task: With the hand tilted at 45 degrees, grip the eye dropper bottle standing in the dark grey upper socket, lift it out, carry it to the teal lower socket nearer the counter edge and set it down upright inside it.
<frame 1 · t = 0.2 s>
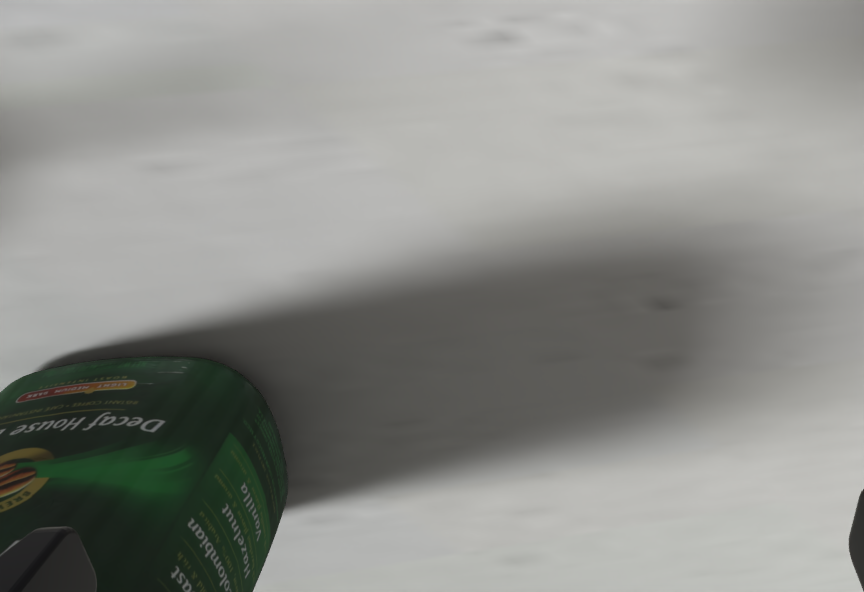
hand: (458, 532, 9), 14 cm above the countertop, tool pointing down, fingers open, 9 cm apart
coffee jar: (150, 437, 26), on the countertop
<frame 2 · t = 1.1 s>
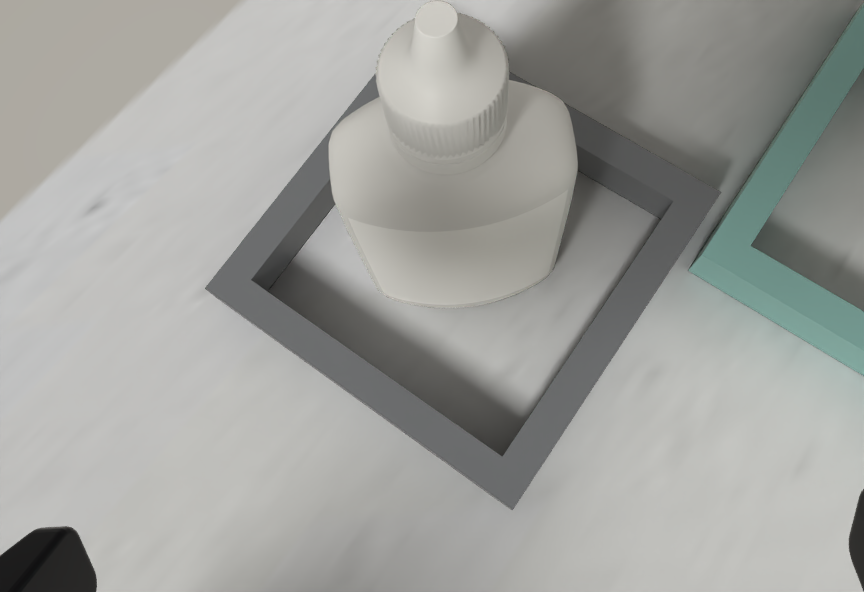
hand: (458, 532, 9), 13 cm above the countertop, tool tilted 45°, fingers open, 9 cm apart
eye dropper bottle: (462, 259, 24), resting in upper socket
upper socket: (462, 257, 24), on the countertop
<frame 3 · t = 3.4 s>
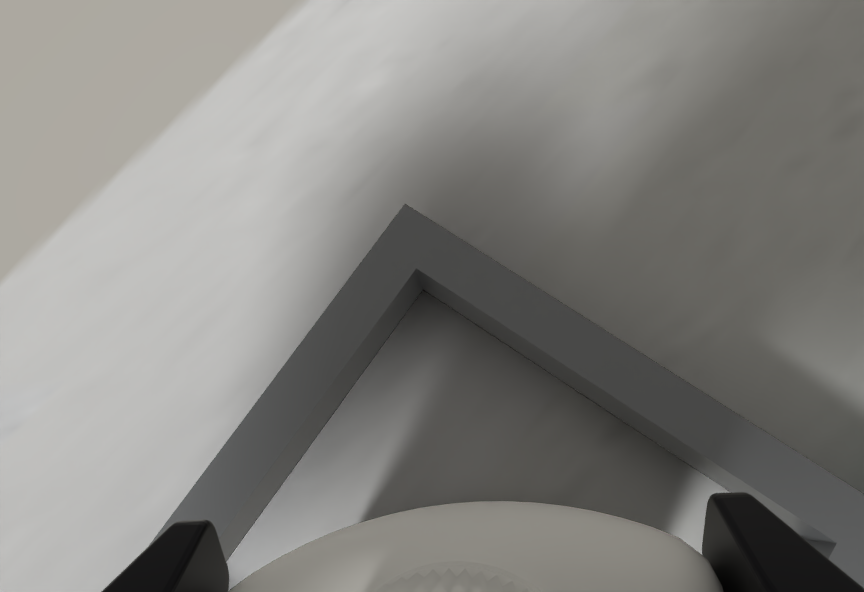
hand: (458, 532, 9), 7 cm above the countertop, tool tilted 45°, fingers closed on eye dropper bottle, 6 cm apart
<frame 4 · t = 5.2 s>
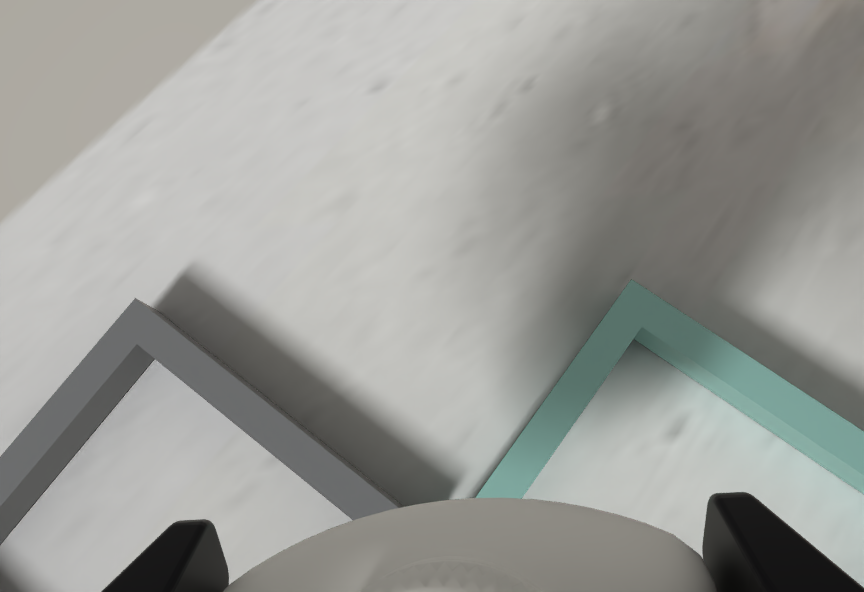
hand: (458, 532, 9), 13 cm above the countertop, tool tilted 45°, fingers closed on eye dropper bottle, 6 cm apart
upper socket: (167, 567, 22), on the countertop
lower socket: (680, 560, 21), on the countertop
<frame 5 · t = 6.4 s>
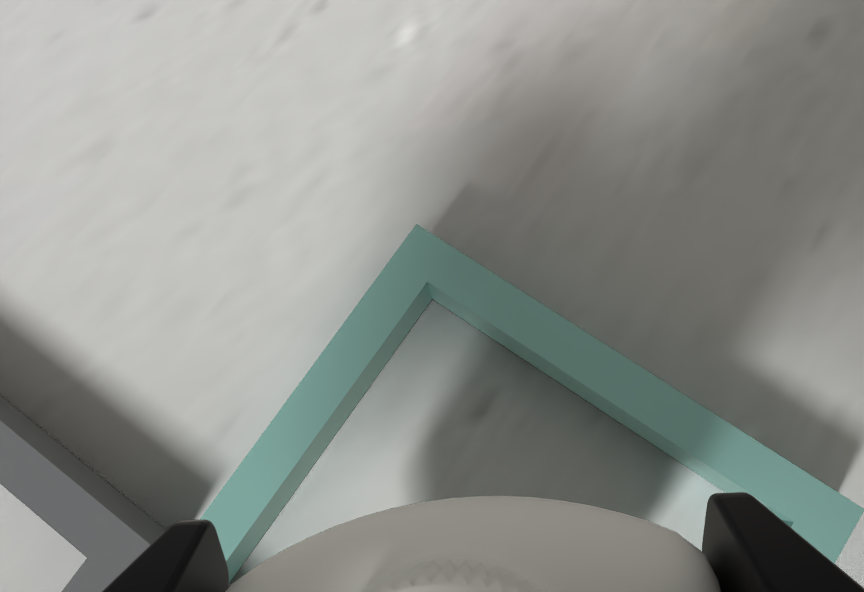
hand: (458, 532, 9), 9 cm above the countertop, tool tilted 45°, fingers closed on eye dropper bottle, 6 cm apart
eye dropper bottle: (477, 591, 15), point 2 cm above the countertop, touching gripper
lower socket: (481, 571, 17), on the countertop
when the fingers open (8 cm above the countertop, at t = 7.1 s): eye dropper bottle stays where it is, resting in lower socket.
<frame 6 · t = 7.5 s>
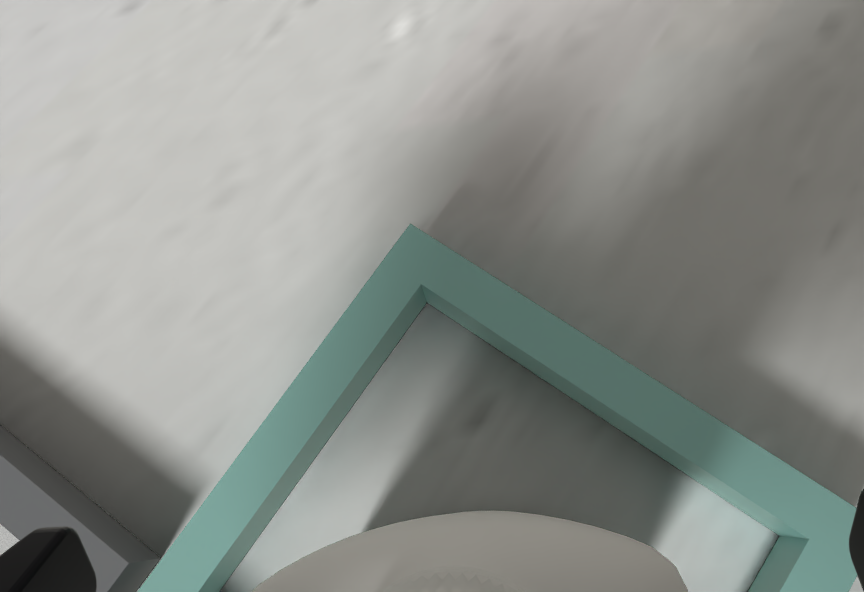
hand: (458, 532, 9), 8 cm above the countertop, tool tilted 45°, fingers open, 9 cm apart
lower socket: (478, 589, 16), on the countertop
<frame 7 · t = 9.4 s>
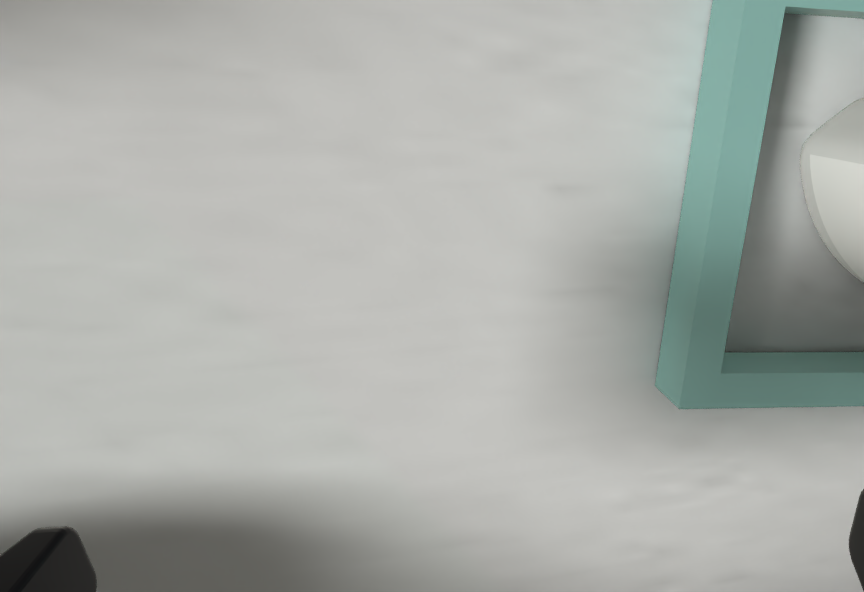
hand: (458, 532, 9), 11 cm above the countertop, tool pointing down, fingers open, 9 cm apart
eye dropper bottle: (863, 196, 20), resting in lower socket
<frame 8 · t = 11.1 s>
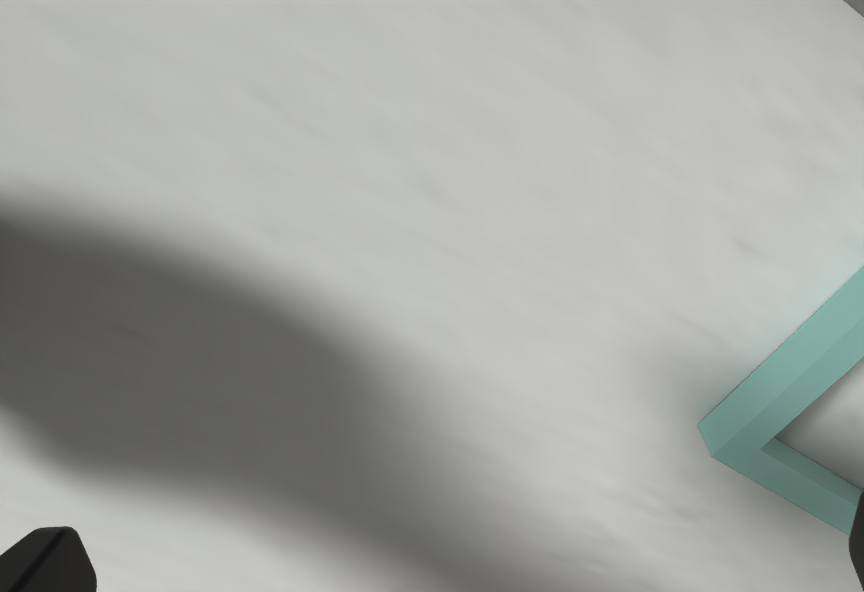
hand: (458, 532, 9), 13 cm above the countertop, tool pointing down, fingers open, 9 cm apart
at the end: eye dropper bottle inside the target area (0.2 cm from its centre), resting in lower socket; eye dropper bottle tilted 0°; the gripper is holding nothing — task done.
